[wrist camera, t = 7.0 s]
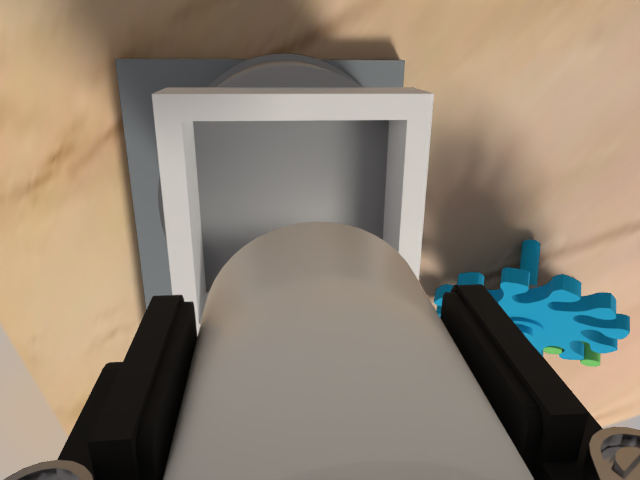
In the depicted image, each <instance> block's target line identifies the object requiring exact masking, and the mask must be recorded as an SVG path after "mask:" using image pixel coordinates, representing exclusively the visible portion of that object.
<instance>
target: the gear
mask: <svg viewBox="0 0 640 480" xmlns="http://www.w3.org/2000/svg"><path fill="white" fill-rule="evenodd" d="M539 255H540V243H539V242H538V241H536V240H525V241H523V242H522V249H521V259H520V269H517V268H509V267H505V268H503V269H502V274H501V282H500V287H501V288H500V289H498V290H488V289H487V290H488V292H489V293H490V294H491V295H492V297H493V298H494V299H495V300H496V301H497V303H498V304H499V305H500V306H501V307H502V309H503V310H504V311H505V312H506V313H507V315H508V316H509V317H510V318H511V320H512V321H513V322H514V323H515V324H516V326H517V327H518V328H519V329H520V330H521V332H522V333H523V334H524V335H525V336H526V338H527V339H528V340H529V341H530V343H531V344H532V345H533V346H534V347H535V348H536V349H537V350H538V352H539V353H540V354H541V355H542V356H543V351H544V352H546V353H550V354H559V356H560V357H561V358H562V359H568V360H580V363H581V364H583V365H586V366H599V365H600V353H609V352H613V351H616V350H617V339H623V338H625V337H626V336H627V335H628V334H629V332H630V317H629V316H627V315H623V314H616V299H615V298H614V296H613V295H612V294H611V293H595V294H592V295H588V296H582V297H581V282H579V281H578V280H576V279H574V278H572V277H570V276H567V275H564V274H561V275H556V276H554V277H553V278H552V280H551V281H550V282H549V283H547V284H546V285H543V286H540V287H538V286H537V280H538V267H539ZM484 278H485V277H484V276H483V275H482V274H481V273H479V272H467V273H460V274H459V277H458V283H457V285H472V284H482V285H483V286H484ZM452 287H453V285H449V284H445V285H442V286H440V287H439V288H437V289H436V292H435V298H434V303H435V304H437V311H436V312H437V313H438V315H439V317H440V316H441V307H442V298H443V295H444V293H445V292H451V289H452Z"/></svg>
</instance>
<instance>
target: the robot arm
mask: <svg viewBox="0 0 640 480" xmlns="http://www.w3.org/2000/svg"><path fill="white" fill-rule="evenodd" d="M440 318H441V320H442V322H443V324H444V325H445V327H446V329H447V330H448V332H449V334H450V336H451V337H452V339H453V341H454V343H455V344H456V346H457V348H458V349H459V351H460V353H461V355H462V356H463V358H464V360H465V361H466V363H467V365H468V367H469V368H470V370H471V372H472V373H473V375H474V377H475V379H476V380H477V382H478V384H479V385H480V387H481V389H482V391H483V392H484V394H485V396H486V397H487V399H488V401H489V403H490V404H491V406H492V408H493V410H494V411H495V413H496V415H497V416H498V418H499V420H500V422H501V423H502V425H503V427H504V428H505V430H506V432H507V434H508V435H509V437H510V439H511V440H512V442H513V444H514V446H515V447H516V449H517V451H518V452H519V454H520V456H521V458H522V459H523V461H524V463H525V464H526V466H527V468H528V470H529V471H530V473H531V475H532V477H533V478H534V480H640V430H636V429H632V428H627V427H611V428H606V429H602V428H601V426H600V425H599V424H598V423H597V422H596V420H595V419H594V418H593V417H592V415H591V414H590V413H589V412H588V411H587V409H586V408H585V407H584V406H583V405H582V403H581V402H580V401H579V400H578V399H577V397H576V396H575V395H574V394H573V393H572V391H571V390H570V389H569V388H568V387H567V385H566V384H565V383H564V382H563V380H562V379H561V378H560V377H559V376H558V374H557V373H556V372H555V371H554V370H553V368H552V367H551V366H550V365H549V364H548V362H547V361H546V360H545V359H544V358H543V356H542V355H541V354H540V353H539V352H538V350H537V349H536V348H535V347H534V346H533V345H532V344H531V343H530V341H529V340H528V339H527V338H526V336H525V335H524V334H523V333H522V332H521V330H520V329H519V328H518V327H517V326H516V324H515V323H514V322H513V321H512V320H511V318H510V317H509V316H508V315H507V313H506V312H505V311H504V310H503V309H502V307H501V306H500V305H499V304H498V303H497V301H496V300H495V299H494V298H493V297H492V295H491V294H490V293H489V292H488V290H487V289H486V288H485V287H484V286H483V285H482V284H472V285H454V286H453V287H452V289H451V292H445V293H444V295H443V298H442V307H441V316H440ZM196 341H197V328H196V318H195V308H194V303H193V301H191V302H184V298H183V296H182V295H161V296H153V297H152V299H151V301H150V303H149V305H148V308H147V310H146V312H145V314H144V317H143V319H142V321H141V323H140V326H139V328H138V330H137V332H136V334H135V337H134V339H133V341H132V343H131V346H130V348H129V350H128V352H127V354H126V357H125V359H124V361H123V362H111V363H108V364H106V365H105V367H104V368H103V370H102V372H101V374H100V376H99V378H98V380H97V382H96V384H95V386H94V388H93V390H92V392H91V394H90V396H89V398H88V400H87V402H86V404H85V406H84V408H83V410H82V412H81V414H80V416H79V418H78V420H77V422H76V424H75V426H74V428H73V430H72V432H71V434H70V436H69V438H68V440H67V442H66V444H65V446H64V448H63V450H62V452H61V454H60V456H59V458H58V460H54V461H47V462H41V463H38V464H35V465H32V466H29V467H26V468H23V469H21V470H20V471H18V472H16V473H14V474H12V475H10V476H9V477H7V478H5V479H4V480H163V476H164V472H165V468H166V464H167V460H168V455H169V451H170V447H171V443H172V439H173V435H174V431H175V427H176V423H177V419H178V414H179V410H180V406H181V402H182V398H183V394H184V390H185V386H186V382H187V378H188V373H189V369H190V365H191V361H192V357H193V353H194V349H195V345H196Z"/></svg>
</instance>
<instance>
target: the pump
mask: <svg viewBox="0 0 640 480" xmlns="http://www.w3.org/2000/svg"><path fill="white" fill-rule="evenodd" d="M163 480H534V478H533V477H532V475H531V473H530V471H529V470H528V468H527V466H526V464H525V463H524V461H523V459H522V458H521V456H520V454H519V452H518V451H517V449H516V447H515V446H514V444H513V442H512V440H511V439H510V437H509V435H508V434H507V432H506V430H505V428H504V427H503V425H502V423H501V422H500V420H499V418H498V416H497V415H496V413H495V411H494V410H493V408H492V406H491V404H490V403H489V401H488V399H487V397H486V396H485V394H484V392H483V391H482V389H481V387H480V385H479V384H478V382H477V380H476V379H475V377H474V375H473V373H472V372H471V370H470V368H469V367H468V365H467V363H466V361H465V360H464V358H463V356H462V355H461V353H460V351H459V349H458V348H457V346H456V344H455V343H454V341H453V339H452V337H451V336H450V334H449V332H448V330H447V329H446V327H445V325H444V324H443V322H442V320H441V318H440V317H439V315H438V313H437V312H436V310H435V308H434V306H433V305H432V303H431V301H430V300H429V298H428V296H427V294H426V293H425V291H424V289H423V288H422V286H421V284H420V282H419V281H418V279H417V277H416V275H415V274H414V272H413V271H412V269H411V268H410V266H409V265H408V263H407V262H406V260H405V259H404V258H403V257H402V256H401V255H400V254H399V253H398V251H396V250H395V249H394V248H393V247H392V246H390V245H389V244H388V243H387V242H385V241H384V240H382V239H380V238H379V237H377V236H375V235H374V234H371V233H369V232H367V231H365V230H362V229H360V228H356V227H353V226H350V225H346V224H340V223H334V222H305V223H298V224H293V225H288V226H284V227H281V228H278V229H275V230H272V231H270V232H268V233H266V234H264V235H262V236H260V237H258V238H256V239H254V240H253V241H251V242H250V243H248V244H247V245H245V246H244V247H242V248H241V249H240V250H239V251H238V252H237V253H236V254H234V255H233V256H232V257H231V258H230V260H229V261H228V262H227V263H226V264H225V265H224V266H223V268H222V269H221V271H220V272H219V274H218V275H217V277H216V278H215V280H214V282H213V284H212V287H211V289H210V291H209V294H208V297H207V300H206V304H205V308H204V312H203V316H202V320H201V324H200V328H199V332H198V337H197V341H196V345H195V349H194V353H193V357H192V361H191V365H190V369H189V373H188V378H187V382H186V386H185V390H184V394H183V398H182V402H181V406H180V410H179V414H178V419H177V423H176V427H175V431H174V435H173V439H172V443H171V447H170V451H169V455H168V460H167V464H166V468H165V472H164V476H163Z"/></svg>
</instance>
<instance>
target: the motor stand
mask: <svg viewBox="0 0 640 480" xmlns="http://www.w3.org/2000/svg"><path fill="white" fill-rule="evenodd" d="M115 62H116V70H117V78H118V86H119V94H120V102H121V110H122V118H123V126H124V134H125V142H126V150H127V158H128V166H129V174H130V182H131V190H132V199H133V207H134V215H135V223H136V231H137V239H138V247H139V255H140V263H141V271H142V279H143V287H144V295H145V303H146V310H147V308H148V305H149V303H150V301H151V299H152V297H153V296H161V295H182V296H183V298H184V302H191V301H193V303H194V308H195V318H196V328H197V337H198V332H199V328H200V324H201V320H202V316H203V312H204V308H205V304H206V300H207V297H208V294H209V291H210V289H211V287H212V284H213V282H214V280H215V278H216V277H217V275H218V274H219V272H220V271H221V269H222V268H223V266H224V265H225V264H226V263H227V262H228V261H229V260H230V258H231V257H232V256H233V255H234V254H236V253H237V252H238V251H239V250H240V249H241V248H242V247H244V246H245V245H247V244H248V243H250V242H251V241H253V240H254V239H256V238H258V237H260V236H262V235H264V234H266V233H268V232H270V231H272V230H275V229H278V228H281V227H284V226H288V225H293V224H298V223H305V222H334V223H340V224H346V225H350V226H353V227H356V228H360V229H362V230H365V231H367V232H369V233H371V234H374V235H375V236H377V237H379V238H380V239H382V240H384V241H385V242H387V243H388V244H389V245H390V246H392V247H393V248H394V249H395V250H396V251H398V253H399V254H400V255H401V256H402V257H403V258H404V259H405V260H406V262H407V263H408V265H409V266H410V268H411V269H412V271H413V272H414V274H415V275H416V277H417V279H418V281H419V272H420V259H421V247H422V235H423V223H424V210H425V198H426V186H427V174H428V161H429V149H430V137H431V125H432V113H433V100H434V94H433V93H430V92H427V91H423V90H420V89H416V88H413V87H403V81H404V65H405V60H324V59H316V58H313V57H308V56H304V55H299V54H287V53H281V54H269V55H264V56H259V57H255V58H252V59H127V58H120V59H115Z"/></svg>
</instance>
